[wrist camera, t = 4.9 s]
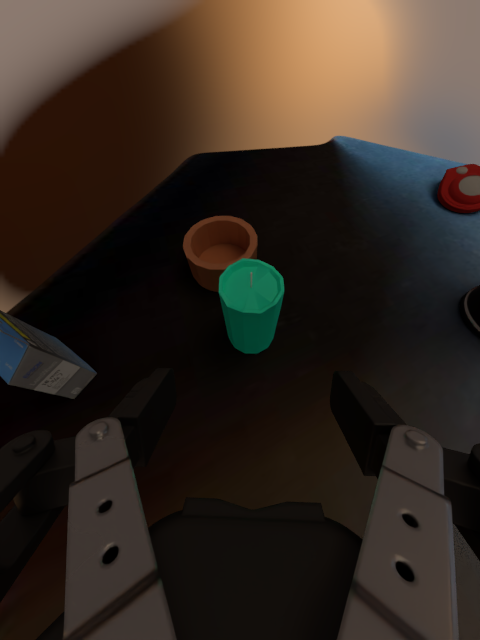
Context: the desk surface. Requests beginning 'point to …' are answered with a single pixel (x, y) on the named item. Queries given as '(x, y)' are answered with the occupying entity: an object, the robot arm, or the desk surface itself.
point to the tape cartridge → (40, 360)
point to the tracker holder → (461, 189)
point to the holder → (218, 247)
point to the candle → (251, 303)
